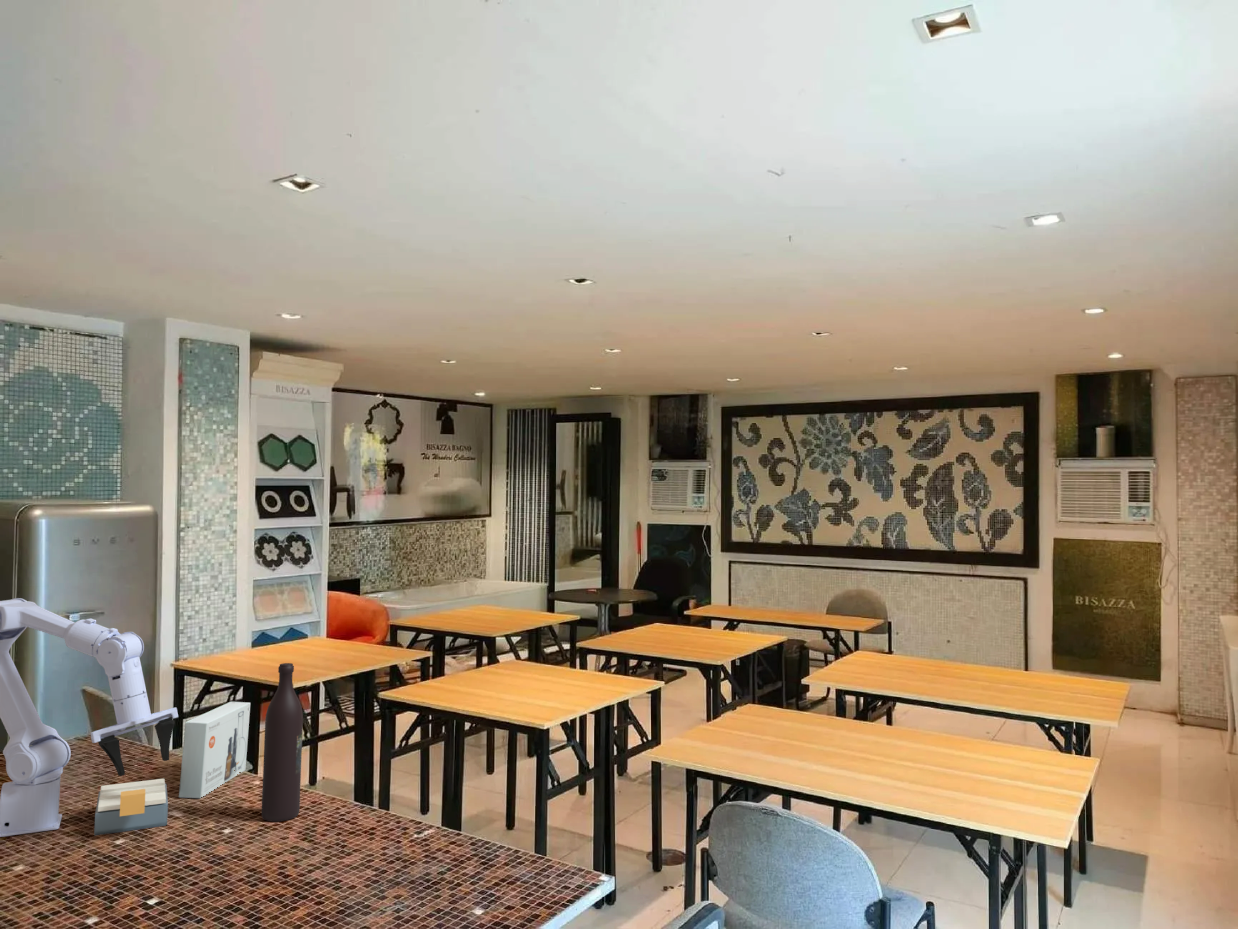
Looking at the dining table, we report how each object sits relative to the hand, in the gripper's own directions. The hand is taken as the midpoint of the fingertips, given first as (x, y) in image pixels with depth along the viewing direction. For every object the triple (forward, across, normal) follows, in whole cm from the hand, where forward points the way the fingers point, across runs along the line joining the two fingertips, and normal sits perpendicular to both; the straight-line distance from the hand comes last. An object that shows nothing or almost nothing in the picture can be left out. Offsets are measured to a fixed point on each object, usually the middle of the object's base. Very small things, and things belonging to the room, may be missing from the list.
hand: (144, 767), depth 164 cm
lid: (+6, -1, +8) cm, 10 cm away
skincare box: (+11, +18, +23) cm, 32 cm away
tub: (+10, -2, +11) cm, 15 cm away
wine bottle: (+17, +20, -6) cm, 27 cm away
